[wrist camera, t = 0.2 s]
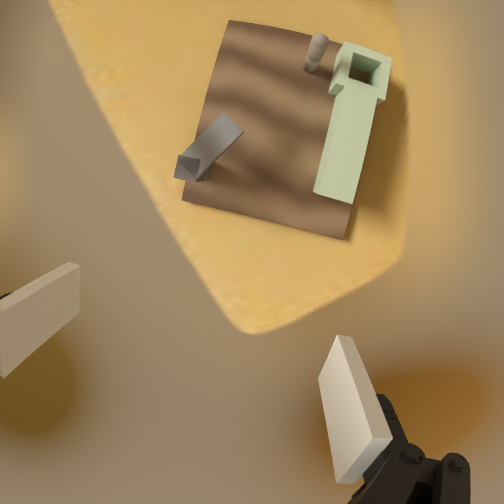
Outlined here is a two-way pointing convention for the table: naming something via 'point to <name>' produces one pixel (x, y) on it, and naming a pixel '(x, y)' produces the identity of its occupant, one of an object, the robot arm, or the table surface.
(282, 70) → the pintle board
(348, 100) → the link
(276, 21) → the table surface
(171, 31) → the table surface
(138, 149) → the table surface
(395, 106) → the table surface
